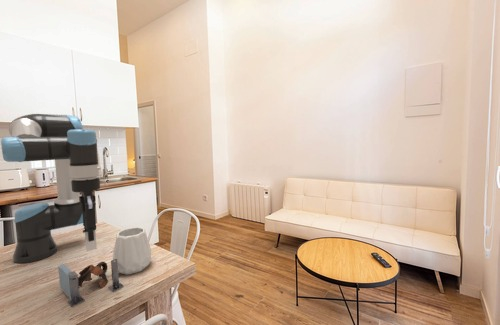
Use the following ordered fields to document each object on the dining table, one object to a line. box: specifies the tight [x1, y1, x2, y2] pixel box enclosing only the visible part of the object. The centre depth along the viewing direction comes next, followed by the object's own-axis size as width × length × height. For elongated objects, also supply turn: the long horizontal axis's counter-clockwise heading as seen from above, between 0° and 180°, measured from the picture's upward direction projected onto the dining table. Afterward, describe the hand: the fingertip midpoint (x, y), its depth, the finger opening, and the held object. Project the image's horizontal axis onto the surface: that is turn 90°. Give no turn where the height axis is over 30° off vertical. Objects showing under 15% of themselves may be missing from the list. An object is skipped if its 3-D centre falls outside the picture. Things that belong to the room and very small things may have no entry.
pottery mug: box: [78, 261, 109, 289], centre depth 87 cm, size 12×10×8 cm
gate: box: [57, 263, 79, 300], centre depth 81 cm, size 14×2×9 cm, turn 53°
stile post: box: [108, 258, 125, 293], centre depth 84 cm, size 4×4×10 cm
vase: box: [112, 227, 152, 276], centre depth 97 cm, size 14×14×15 cm
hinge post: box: [67, 276, 85, 308], centre depth 77 cm, size 4×4×8 cm
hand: (91, 249), depth 78 cm, fingers closed
